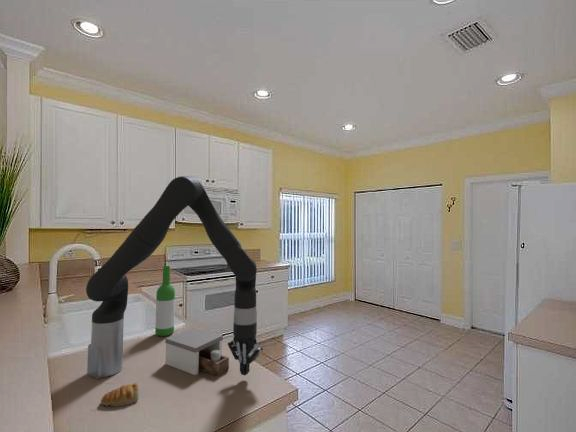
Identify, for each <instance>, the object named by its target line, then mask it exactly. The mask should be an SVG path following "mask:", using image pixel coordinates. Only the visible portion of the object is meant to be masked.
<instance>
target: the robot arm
mask: <svg viewBox="0 0 576 432" xmlns="http://www.w3.org/2000/svg"><path fill="white" fill-rule="evenodd" d="M187 207H189V208H191V210H192V211H193V213H195V214H196V216H197V217H198V218H199V220H200V221H201V223H202V226H203V228H204V231H205V232H206V235H207V237H208V239H209V240H210V242H211V244H212V245H213V247H215V249H216V250H217V252H218V253H219V254H220V255H221V257H222V258H223V259H224V260H225V262H226V264H227V266H228V267H229V269H230V270H231V272H232V273H233V275H234V277H235V291H234V299H233V300H234V302H233V303H234V304H233V305H234V306H233V315H232V316H233V320H232V321H233V323H232V324H233V325H232V326H233V329H232V330H233V332H232V333H233V334H232V335H233V338H232V339H233V340H230V341H229V342H227V346H228V348H229V350H230V352H231V354H232V356H233V358H234V359H235V361H238V362H239V372H240V375H241V376H246V375H248V374H249V373H250V365H251V363H252V362H254V361H256V360H257V358H258V357H259V356H260V354H261V353H262V352H263V347H262V346H259V345H258V341H257V339H256V337H257V331H258V330H257V329H258V328H257V326H258V325H257V324H258V318H257V317H258V311H257V310H258V309H257V291H256V282H257V271H258V269H257V264H256V261H254V259H252V258H250V256H248V254H247V253H246V252H245V251H246V250H244V248H243V247H242V244H241V243H240V241H239V240H238V239H237V237H236V236H235V235H234V233H233V232H232V231H231V229H230V227H228V225H227V224H226V223H225V221H224V219H222V217H221V216H220V214H219V213H218V211H217V209H216V208H215V206H214V204H213V202H212V201H211V200H210V196H209V195H208V193H207V191H206V189H205V188H204V185H203V184H202V183H201V181H200V180H199V179H197V178H195V177H193V176H185V175H184V176H177V177H174V178H173V179H172V180H171V181H170V182H169V183H168V185H166V187H165V189H164V190H163V192H162V194H161V195H160V196H159V199H158V200H157V201H156V203H155V204H154V205H153V207H152V208H151V209H150V210H149V211H148V212H147V213H146V215H144V217H143V218H142V219H141V220H140V222H139V223H138V224H136V226H135V227H134V228H133V230H131V232H130V233H129V234H128V236H127V237H126V238H125V240H124V241H123V242H122V243H121V245H119V247H118V248H117V249H116V251H115V252H114V253H113V254H112V255H111V257H109V259H108V260H107V261H106V262H105V263H104V264H103V265H102V266H101V267H100V268H99V269H98V270H97V271H96V272H94V273H93V274H92V276H91V277H90V278H89V279H88V281H87V284H86V288H85V292H86V296H87V298H88V299H89V300H91V301H93V302H101V304H100V305H99V306H98V307H97V308H96V309H95V310H94V311H93V312H92V315H91V331H90V332H91V333H90V335H91V337H90V344H88V345H87V362H86V363H87V364H86V365H87V368H86V369H87V370H86V374H87V375H88V376H90V377H92V378H94V379H96V380H99V379H101V378H105V377H106V378H107V377H111V376H113V375H116V374H118V373H119V372H121V370H122V369H123V357H124V353H123V352H124V327H125V326H124V321H125V318H124V317H125V312H126V309H127V305H128V296H129V295H128V294H129V280H128V276H127V273H128V272H130V271H131V270H132V269H134V268H135V267H137V266H139V265H140V264H141V263H143V262H144V261H145V260H147V259H148V258H149V257H151V255H153V253H154V252H155V251H156V250H157V249H158V247H160V245H161V244H162V242H163V241H164V240H165V238H166V236H167V233H168V231H169V229H170V226H171V224H172V223H173V221H174V220H175V219H176V218H177V217H178V216H179V214H181V212H183V211H184V209H186V208H187Z"/></svg>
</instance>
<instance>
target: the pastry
mask: <svg viewBox="0 0 576 432" xmlns="http://www.w3.org/2000/svg"><path fill="white" fill-rule="evenodd" d="M139 393H140V389H139V384H138V382H134V383H132V384H126V385H125V384H123V385H121V386H120V387H117V388H115V389H112V390H111V391H109V392H107V393H105V394H104V395H103V396H102V398H101V399H100V403H101V405H102V406H104V405H105V406H104V407H109V406H108V405H120V406H122V405H121V404H125V405H128V404H127V403H130V404H132V403H131V402H134V403H136V402H138V400H139V398H140V397H139V395H140V394H139Z"/></svg>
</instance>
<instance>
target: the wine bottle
mask: <svg viewBox="0 0 576 432" xmlns="http://www.w3.org/2000/svg"><path fill="white" fill-rule="evenodd" d="M155 296H156V298H155V327H154V329H155V335H156V336H158V337H169V336H171V335H172V334H173V333H174V332H175V331H174V330H175V308H176V307H175V306H176V305H175V304H176V303H175V302H176V300H175V299H176V290H175V287H174V286H173V285H172V284H171V266H170V265H163V266H162V284H161V285H159V287H158V288H157V290H156V295H155Z"/></svg>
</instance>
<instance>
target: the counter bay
mask: <svg viewBox="0 0 576 432" xmlns="http://www.w3.org/2000/svg"><path fill="white" fill-rule="evenodd" d="M223 340H224V336H223V335H221V334H219V333H215V332H211V331H207V330H204V329H200V328H197V327H191V328H190V329H187V330H184V331H181V332H179V333H176V334H174V335H170V336H167V337H165V340H164V341H165V342H164V343H165V361H164V362H165V363H164V364H165V365H167V366H171V367H173V368H176V369H178V370H180V371H184V372H186V373H188V374H191V375H194V376H197V375H199V369H198V367H199V351H200V350H202V349H205V350H208V351H211V352H212V351H214V350H219V351H221V355H223V353H222V352H223Z"/></svg>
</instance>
